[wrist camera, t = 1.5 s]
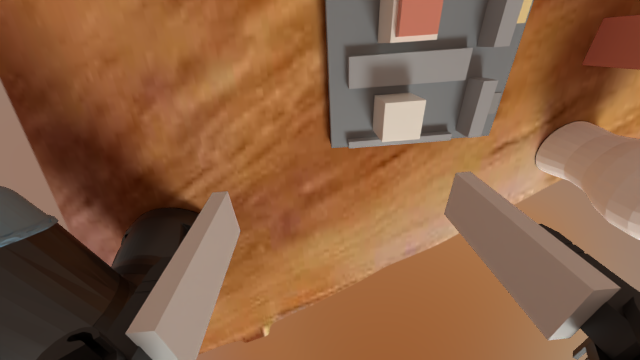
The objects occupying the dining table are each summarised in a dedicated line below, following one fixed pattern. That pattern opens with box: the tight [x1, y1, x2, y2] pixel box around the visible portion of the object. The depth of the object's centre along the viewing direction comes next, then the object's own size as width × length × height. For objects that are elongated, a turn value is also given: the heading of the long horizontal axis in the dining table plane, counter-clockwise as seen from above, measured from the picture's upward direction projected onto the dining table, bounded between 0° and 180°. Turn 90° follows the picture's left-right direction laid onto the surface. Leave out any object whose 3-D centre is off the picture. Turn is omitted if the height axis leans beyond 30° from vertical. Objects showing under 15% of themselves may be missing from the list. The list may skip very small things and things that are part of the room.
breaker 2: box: [373, 93, 426, 142], centre depth 25 cm, size 4×4×4 cm
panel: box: [325, 0, 534, 148], centre depth 24 cm, size 20×17×4 cm
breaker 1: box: [378, 0, 443, 43], centre depth 20 cm, size 4×4×5 cm
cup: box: [536, 121, 640, 240], centre depth 26 cm, size 11×11×15 cm
